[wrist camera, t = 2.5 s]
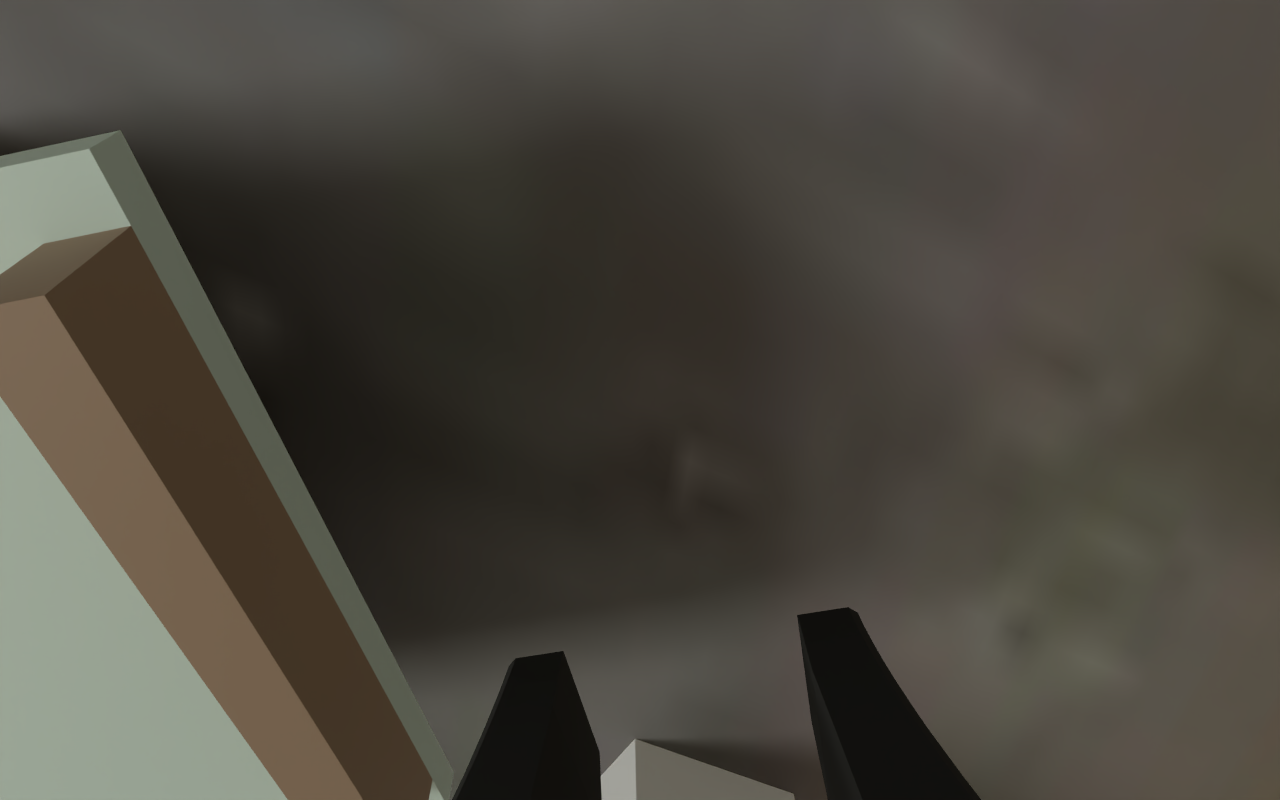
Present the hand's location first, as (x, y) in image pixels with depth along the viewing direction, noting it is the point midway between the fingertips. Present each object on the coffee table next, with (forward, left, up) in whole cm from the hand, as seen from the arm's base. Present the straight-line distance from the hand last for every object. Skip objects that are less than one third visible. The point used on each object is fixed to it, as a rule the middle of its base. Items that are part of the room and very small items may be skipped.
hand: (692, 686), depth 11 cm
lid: (0, +12, -4) cm, 13 cm away
